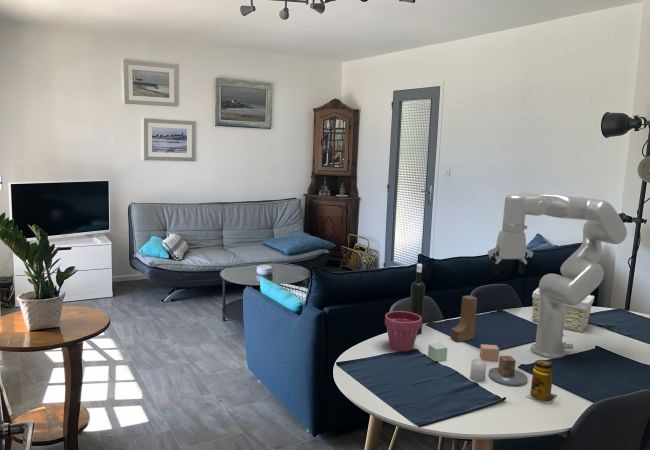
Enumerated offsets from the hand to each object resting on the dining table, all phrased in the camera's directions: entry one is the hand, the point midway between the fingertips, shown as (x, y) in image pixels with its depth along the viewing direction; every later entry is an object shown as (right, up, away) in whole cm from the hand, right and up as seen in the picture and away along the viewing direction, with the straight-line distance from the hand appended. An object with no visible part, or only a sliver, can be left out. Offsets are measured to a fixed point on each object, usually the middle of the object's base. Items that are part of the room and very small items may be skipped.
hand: (508, 273), depth 197 cm
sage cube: (-26, -32, +3) cm, 42 cm away
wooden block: (-11, -30, +23) cm, 39 cm away
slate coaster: (-4, -36, -12) cm, 38 cm away
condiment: (+2, -38, -24) cm, 45 cm away
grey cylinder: (-15, -35, -13) cm, 41 cm away
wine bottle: (-30, -28, +29) cm, 50 cm away
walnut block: (-5, -34, -11) cm, 37 cm away
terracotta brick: (-6, -33, +4) cm, 34 cm away
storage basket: (+40, -28, +47) cm, 68 cm away
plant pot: (-38, -30, +12) cm, 50 cm away
